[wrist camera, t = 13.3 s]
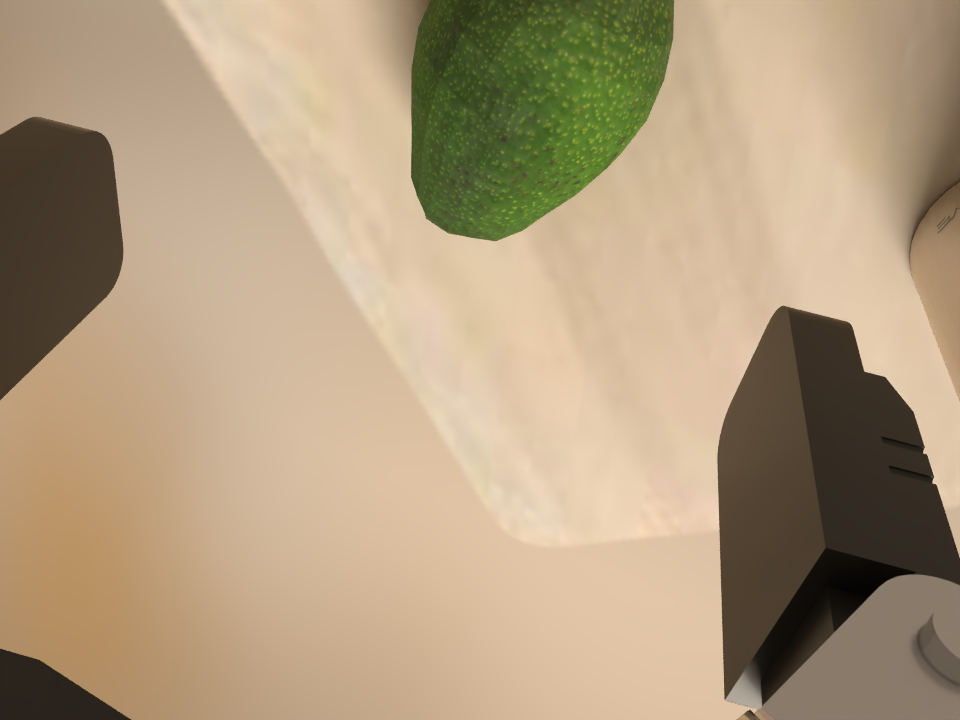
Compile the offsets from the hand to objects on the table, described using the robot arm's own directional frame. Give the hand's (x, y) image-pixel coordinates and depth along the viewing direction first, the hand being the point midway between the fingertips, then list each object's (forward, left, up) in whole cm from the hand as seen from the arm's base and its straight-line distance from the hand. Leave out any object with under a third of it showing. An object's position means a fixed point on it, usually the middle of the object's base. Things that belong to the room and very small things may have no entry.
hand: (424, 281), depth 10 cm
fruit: (-4, +7, -31) cm, 32 cm away
